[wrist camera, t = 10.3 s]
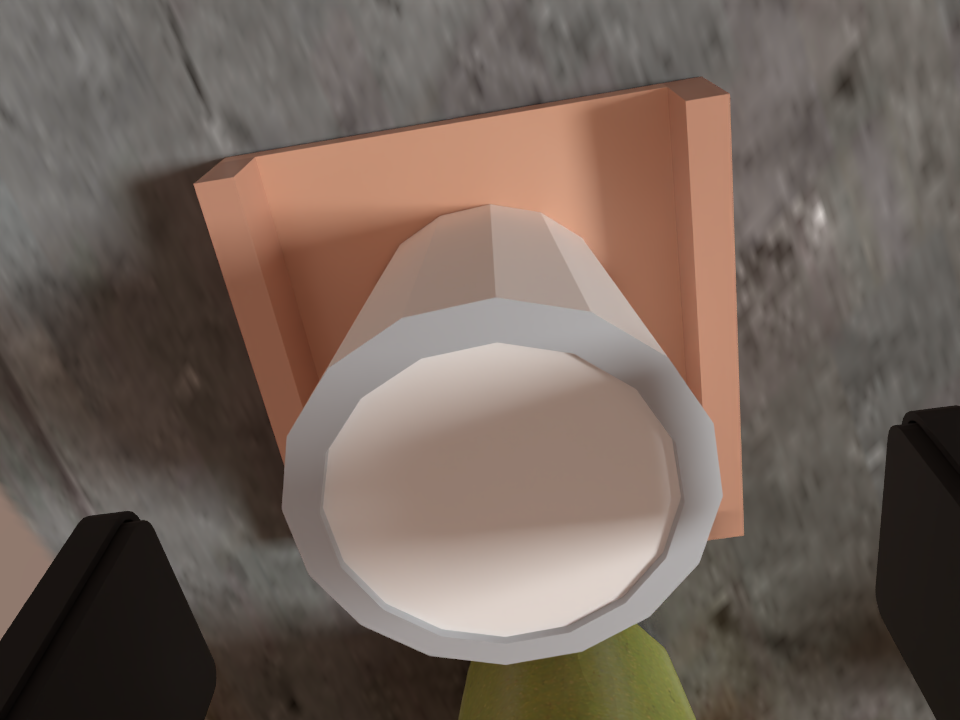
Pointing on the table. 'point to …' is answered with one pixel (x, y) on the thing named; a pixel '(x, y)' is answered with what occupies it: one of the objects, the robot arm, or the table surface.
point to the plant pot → (581, 685)
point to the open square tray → (504, 182)
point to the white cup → (500, 450)
